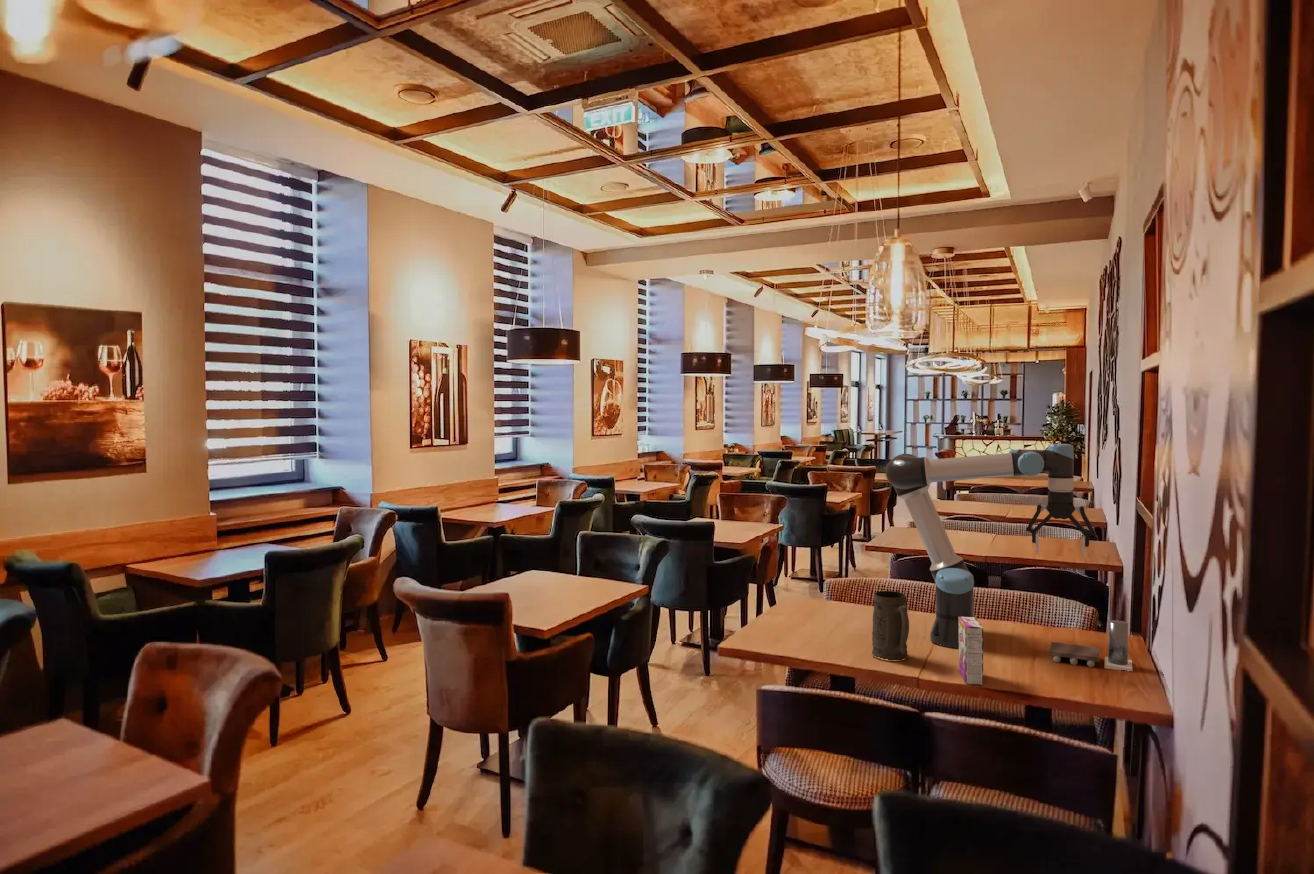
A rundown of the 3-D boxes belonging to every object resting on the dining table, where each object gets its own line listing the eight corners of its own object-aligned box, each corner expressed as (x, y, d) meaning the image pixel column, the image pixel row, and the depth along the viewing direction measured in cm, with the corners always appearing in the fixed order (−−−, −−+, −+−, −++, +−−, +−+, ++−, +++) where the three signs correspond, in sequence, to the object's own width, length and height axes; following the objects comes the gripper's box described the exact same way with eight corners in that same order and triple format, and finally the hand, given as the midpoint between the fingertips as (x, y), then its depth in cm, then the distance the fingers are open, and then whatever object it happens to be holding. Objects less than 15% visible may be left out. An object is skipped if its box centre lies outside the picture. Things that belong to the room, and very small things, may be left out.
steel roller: (1108, 663, 229) (1108, 623, 229) (1108, 658, 234) (1108, 619, 233) (1127, 665, 227) (1128, 625, 226) (1127, 661, 231) (1127, 621, 231)
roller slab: (1049, 661, 234) (1049, 651, 234) (1051, 651, 244) (1051, 641, 244) (1098, 668, 228) (1098, 657, 228) (1099, 658, 237) (1099, 647, 237)
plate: (1104, 668, 228) (1104, 664, 228) (1104, 659, 236) (1104, 656, 236) (1132, 671, 224) (1132, 668, 224) (1131, 663, 232) (1131, 659, 232)
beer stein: (863, 652, 244) (865, 591, 242) (890, 648, 248) (893, 587, 247) (896, 670, 230) (899, 605, 228) (924, 665, 234) (927, 601, 233)
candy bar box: (957, 671, 226) (957, 615, 226) (975, 672, 225) (975, 616, 225) (964, 684, 215) (965, 626, 215) (983, 685, 214) (984, 627, 214)
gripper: (1104, 491, 251) (1103, 556, 252) (1020, 488, 264) (1019, 549, 264) (1104, 493, 245) (1103, 559, 245) (1017, 490, 257) (1017, 553, 258)
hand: (1060, 554), depth 255 cm, fingers open, 13 cm apart
